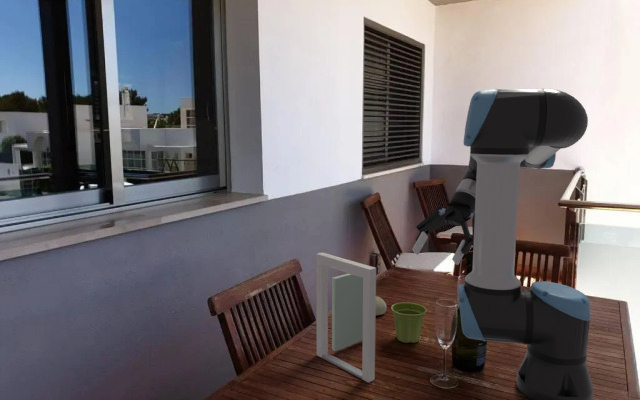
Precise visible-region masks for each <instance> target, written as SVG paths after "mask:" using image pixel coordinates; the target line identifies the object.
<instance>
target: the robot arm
mask: <svg viewBox="0 0 640 400" xmlns="http://www.w3.org/2000/svg"><path fill="white" fill-rule="evenodd" d="M588 118H589V117H588V114H587V111H586V109H585V108H584V106H583V105H582V103H581V102H580V101H579V100H578V99H577V98H575V97H574V96H573V95H571V94H569V93H567V92H565V91H562V90H559V89H553V88H535V89H533V88H530V89H529V88H528V89H527V88H525V89H524V88H522V89H520V88H519V89H518V88H515V89H513V88H501V89H500V88H494V89H485V90H478V91H477V92H474V93H473V95H472V97H471V99H470V103H469V106H468V111H467V116H466V121H465V126H464V127H465V128H464V134H463V136H464V137H463V146H465V147H469V148H470V149H469V150H470V152H469V162H468V167H467V170H466V173H465V174H464V176H463V178H462V179H461V181H460V183H459V185H458V186H457V188H456V189H455V192H454V194H453V196H451V199H450V201H449V204H448V206H447V208H444V207H442V205H438V206H437V207H436V208H435V210H434V211H433V212H432V213H430V214H429V215H428V216H427V217H426V218H424V220H422V221H421V222H420V223H418V224H417V225H416V229H417V231H418V232H419V233H418V235H417V237H415V243H414V244H413V247H412V248H411V250H412V251H413V252H414V254H415V255H417V256H419V254H420V252H421V251H422V249H423V248H424V247H423V246H424V245H425V243H426V242H427V241H428V238H429V236H428V235H430V234H432V233H433V232H435V231H437V230H438V229H440V228H441V227H443V226H448V225H453V226H454V225H455V226H456V227H457V226H458V227H460V226H461V229H462V232H463V236H464V239H462V240H461V241H460V244H459V245H458V247H457V249H456V251H455V253H454V255H453V257H452V259H451V260H452V262H453V263H454V264H455V265H456V266H459V264H460V262H461V261H462V259H463V257H464V255H467V254H468V252H469V250H470V249H471V247H472V246H473V251H472V252H473V253H472V270H471V272H469V273H468V274H466V275H465V278H464V283H462V284H460V285H458V286H457V293H458V301H459V302H458V304H459V314H460V321H461V331H462V334H463V335H464V336H465V337H466V338H467V339H469V340H470V339H471V340H477V341H478V340H479V341H482V342H494V343H495V342H496V343H507V344H508V343H509V344H520V345H521V344H523V345H526V346H527V347H526V349H527V350H526V353H525V356H524V358H523V360H522V361H521V364H520V366H519V367H518V368H519V369H518V370H517V373H516V387H517V389H518V391H520V392H521V393H522V394H523V395H524V396H525V397H527V398H528V399H529V400H593V398H594V385H593V382H592V378H591V375H590V372H589V368H588V365H587V356H588V355H587V354H588V343H589V334H590V333H589V332H590V322H591V319H592V317H591V301H590V299H589V298H588V296H587V295H586V294H585V293H583V292H582V291H580V290H579V289H576V288H574V287H571V286H569V285H565V284H561V283H557V282H552V281H546V280H545V281H544V280H543V281H542V280H541V281H540V280H539V281H534V282H532V283H531V284H530V287H529V289H527V288H524V289H523V288H522V282H521V280H520V279H519V278H518V277H517V276H516V275H515V262H516V261H515V260H516V259H515V258H516V246H517V245H516V241H517V225H518V224H517V223H518V207H519V205H518V204H519V187H520V170H521V169H536V170H540V169H541V170H542V169H551V168H553V167H554V165H555V162H556V157H557V155H556V154H557V152H558V151H560V150H562V149H566V148H570V147H571V146H574V145H575V144H576V143H578V142H579V140H581V139H582V137H584V135H585V134H586V131H587V129H588V124H589V123H588V121H589V119H588ZM469 220H471V221H472V222H471V223H472V225H471V226H472V227H471V228H472V235H471V232H470V229H469V226H468V223H467V222H468V221H469Z"/></svg>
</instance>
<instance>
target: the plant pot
mask: <svg viewBox="0 0 640 400" xmlns="http://www.w3.org/2000/svg"><path fill="white" fill-rule="evenodd" d="M390 309H391V311H392V314H393V318H394V326H395V327H394V328H395V335H396V337H395V338H396V339H397V340H398V341H399V342H402V343H406V344H408V343H417V342H419V341H420V339H421V333H422V328H423V327H422V326H423V322H424V318H425V314H426V313H427V311H428V309H427V308H426V307H425V306H424V305H421V304H419V303H415V302H397V303H394V304H392V305H391V307H390Z"/></svg>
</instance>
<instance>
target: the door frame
mask: <svg viewBox="0 0 640 400" xmlns="http://www.w3.org/2000/svg"><path fill="white" fill-rule="evenodd" d="M315 259H316V263H315V265H316V266H315V271H316V274H315V276H316V277H315V279H316V283H315V284H316V286H315V287H316V288H315V289H316V294H315V296H316V298H315V300H316V301H315V302H316V306H315V307H316V356H318V357H320V359H323V360H324V361H327V362H329V363H331V364H332V365H335V366H336V367H339V368H340V369H342V370H344V371H346V372H348V373H350V374H351V375H353V376H356V377H357V378H359V379H361V380H363V381H365V382H366V383H372V382H373V381H375V380H376V379H375V377H376V376H375V375H376V374H375V371H376V316H377V315H376V296H377V267H374V266H371V265H368V264H365V263H360V262H357V261H353V260H351V259H346V258H342V257H340V256H336V255H334V254H330V253H326V252H318V253H316V254H315ZM329 268H331V269H333V270H337V271H340V272H343V273H344V274H348V273H349V274H352V275H355V276H358V277H361V278H363V340H362V352H361V353H362V355H361V356H362V362H361V364H362V365H361V366H362V367H361V368H362V369H360V368H358V367H356V366H354V365H351V364H350V363H348V362H346V361H344V360H342V359H340V358H338V357H336V356H334V355H332V354H330V353H329V310H328V309H329V298H328V297H329V290H328V289H329V287H328V286H329V285H328V284H329V277H328V276H329V271H328V270H329Z"/></svg>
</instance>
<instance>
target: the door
mask: <svg viewBox="0 0 640 400" xmlns="http://www.w3.org/2000/svg"><path fill="white" fill-rule="evenodd" d="M359 342H363V278H361V277H358V276H355V275H352V274H349V273H344V274H341V275H340V274H339V275H337V276H334V277H331V350H332V351H334V352H338V351H340V350H342V349H345V348H347V347H350V346H352V345H354V344H357V343H359Z"/></svg>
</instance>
